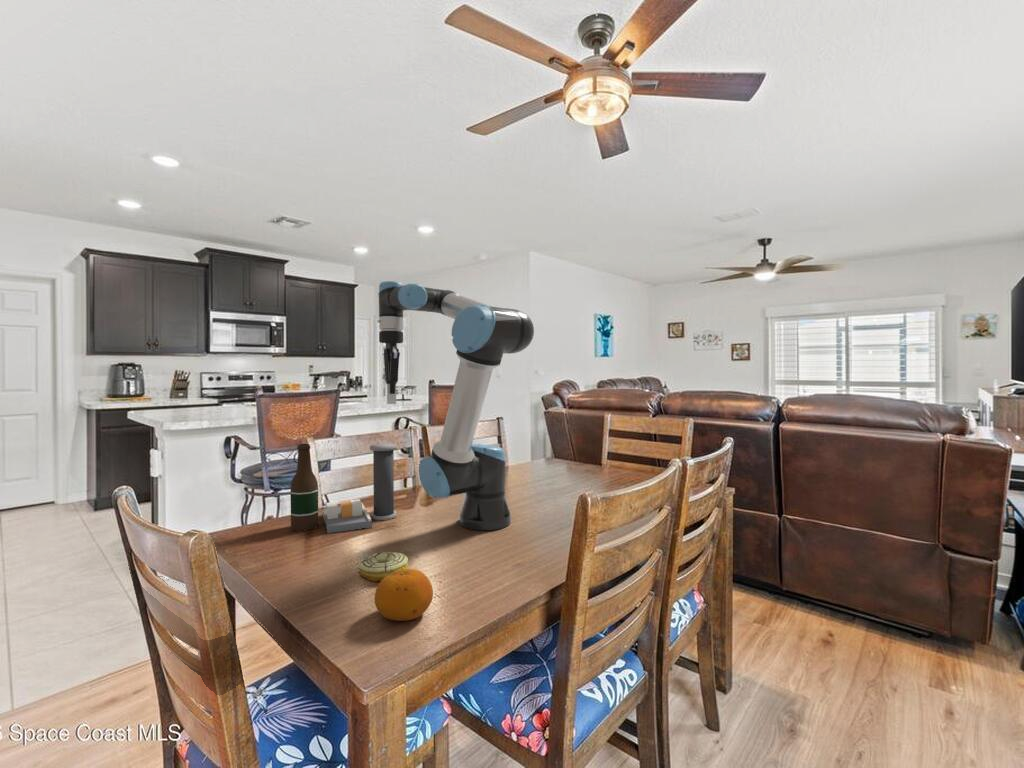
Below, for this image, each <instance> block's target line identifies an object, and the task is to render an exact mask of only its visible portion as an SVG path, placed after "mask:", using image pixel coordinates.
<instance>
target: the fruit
mask: <svg viewBox="0 0 1024 768" xmlns="http://www.w3.org/2000/svg"><path fill="white" fill-rule="evenodd" d="M433 597H434V589H433V585H432V582H431V581H430V579H429V577H428V576H427V575H426V574H425V573H424V572H422V571H421V570H418V569H415V568H414V569H412V568H407V569H404V570H399V571H396V572H395V573H392V574H390V575H388V576H386V577H385V578H384V579H383V580H381V581H379V583H378V584H377V587H376V589H375V592H374V605H375V607H376V610H377V611H378V612H379V613H380V614H381V615H382V616H383V617H384V618H385V619H387V620H391V621H399V622H403V621H404V622H405V621H412V620H415V619H418V618H419V617H420V616H422V615H423V614H424V613H425V612H426V611H427V609H428V608H429V607H430V605H431V603H432V602H433Z"/></svg>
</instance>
